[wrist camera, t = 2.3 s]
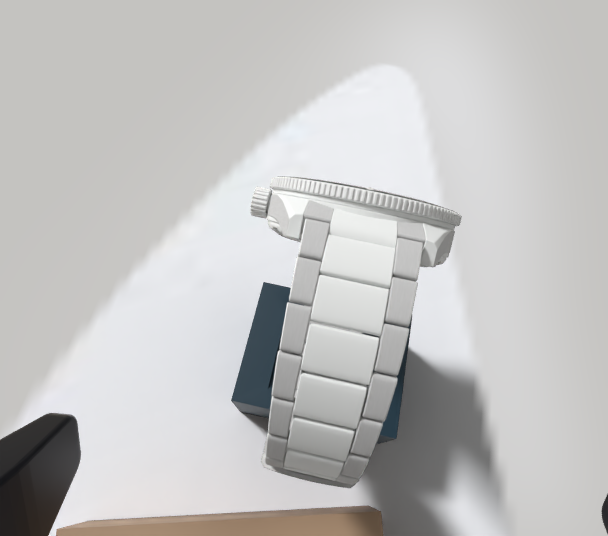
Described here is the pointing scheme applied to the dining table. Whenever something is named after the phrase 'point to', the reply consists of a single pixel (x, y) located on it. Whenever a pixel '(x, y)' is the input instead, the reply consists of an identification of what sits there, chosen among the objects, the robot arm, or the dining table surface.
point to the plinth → (242, 524)
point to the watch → (337, 323)
